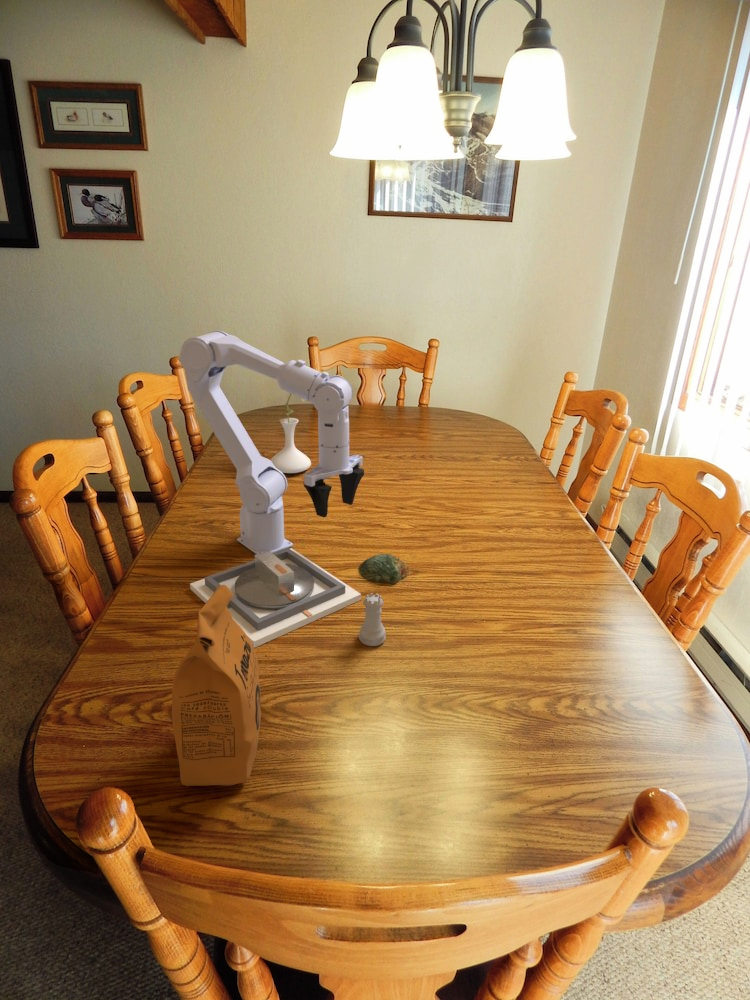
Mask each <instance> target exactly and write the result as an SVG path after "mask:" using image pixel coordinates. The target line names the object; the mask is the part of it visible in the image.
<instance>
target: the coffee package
mask: <svg viewBox="0 0 750 1000" xmlns="http://www.w3.org/2000/svg"><path fill="white" fill-rule="evenodd" d="M232 597H233V593H232V592H231V591H230V590H229V588H228V587H227V586H226V585H219V586H218V588H217V589H216V591H215V592H214V594H213V595H212V596H211V597H210V599H209V600H208V601H207V602H206V603H205V604H204V605H203V607H202V608H201V609H200V610H199V611H198V614H197V615H198V617H197V631H196V633H197V634H196V638H195V643H194V644H193V646H192V647H191V648H190V649H189V650H188V652H187V654H186V655H185V656H184V658H183V659H182V660H181V661H180V662H179V665H178V667H177V669H176V672H175V674H174V677H173V679H172V688H171V691H172V692H171V716H172V718H171V719H172V731H173V735H174V741H175V749H176V753H177V758H178V765H179V778H180V783H181V785H183V786H186V787H192V786H199V787H201V786H202V787H204V786H205V787H206V786H234V785H236V784H237V785H238V784H243V783H244V784H245V783H247V782H248V780H249V779H250V777H251V774H252V770H253V767H254V762H255V759H256V754H257V749H258V742H259V735H260V727H261V718H262V711H261V686H260V675H259V674H260V672H259V670H260V669H259V660H258V657H257V652H256V651H255V648H254V647H253V644H252V642H251V641H250V639H249V638H248V636H247V635H246V633H245V632H244V631H243V629H242V628H241V627H240V626H239V625H238V624H237V623H236V622H235V621H234V620H233V619H232V616H231V614H230V612H229V610H228V608H227V604H228V603H229V602H230V601H231V599H232Z"/></svg>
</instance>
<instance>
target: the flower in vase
mask: <svg viewBox="0 0 750 1000" xmlns="http://www.w3.org/2000/svg"><path fill="white" fill-rule="evenodd" d="M291 397H292V394H291V393H289V396H288V399H287V401H286V402H285V406H286V413H285V416H287V417H285V418H281V419H279V422H280V424H281V427H282V429H283V431H284V435H285V436H284V439H285V441H284V442H285V443H284V447H283V448H282V449H281V450H280V451H278V452H277V453H276V454H275V455H273V456H272V457H271V459H270V460H271V461H272V463H273V465H274V466H275V467H276V468H277V469H278V470H280V471H281V472H282V473H283V474H297V473H301V472H304V471H307V470H308V469H309V468H310V467H311V466H312V461H311V459H310V458H309V457H308V456H307V454H305V453H303V452H302V451H300V450H299V449H297V447H296V445H295V440H294V439H295V429H296V426H297V424H298V423H299V421H300V420H299V419H298V418H295V417H290V416H289V415H291V414H292V413H295V410H293V409H290V407H289V403H290V399H291ZM298 399H300V400H301V402H306V401H307V400H304V399H302V398H300V397H298Z"/></svg>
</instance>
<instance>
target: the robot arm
mask: <svg viewBox="0 0 750 1000" xmlns="http://www.w3.org/2000/svg"><path fill="white" fill-rule="evenodd" d="M179 352H180V353H179V357H178V361H179V363H180V365H181V367H182V368H183V371H184V374H185V375H184V376H185V379H186V381H185V382H186V385H187V390H188V392H189V394H190V396H191V398H192V399H193V401H194V402H195V404H196V405H197V407H198V408H199V411H200V412H201V414H202V415H203V418H204V419H205V420H206V421H207V423H208V425H209V427H210V429H211V430H212V432H213V434H214V435H215V437H216V438H217V440H218V442H219V443H220V444H221V446H222V448H223V450H224V452H225V453H226V454H227V456H228V458H229V460H230V462H231V463H232V464H233V466H234V467H235V469H236V476H235V486H236V487H237V489H238V490H239V496H240V501H241V503H242V505H241V507H240V509H239V526H240V537H238V538H236V540H237V542H239V543H240V544H242V546H244V547H246V548H247V549H248V550H250V551H251V552H252V553H253V554H254V555H257V554H260V553H263V552H267V551H270V552H272V553H276V552H279V551H282V550H284V549H287V548H289V549H290V548H292V547H293V546H294V543H292V542H291V541H290V540H288V539H286V538H285V523H284V522H285V518H284V501H283V495H284V494H285V493H286V492H287V488H288V480H287V477H286V475H285V473H282V472H281V471H280V470H278V469H277V468H276V467H275V466H274V465H273V463H272V461H271V459H268V458H266V457H264V456H263V455H261V453H260V452H259V450H258V449H257V447H256V445H255V444H254V442H253V440H252V439H251V437H250V435H249V434H248V431H246V429H245V426H243V423H242V422H241V420H240V418H239V417H238V415H237V414H236V412H235V410H234V408H233V407H232V405H231V404H230V402H229V400H228V399H227V397H226V395H225V393H224V392H223V390H222V388H221V386H220V385H221V381H222V377H223V374H224V371H225V370H226V369H227V367H229V366H234V365H238V366H241V367H244V368H246V369H248V370H252V371H253V372H257V374H258V373H259V374H261V375H263V376H265V377H266V376H267V377H269V378H272V379H273V380H274V379H275V380H276V382H277V383H278V386H279V388H280V389H281V390H283V391H285V392H287V393H289V394H290V393H291V395H293V396H296V397H298V398H299V397H300V398H302V399H304V400H306V401H307V402H309V403H312V404H313V406H314V408H315V410H316V411H317V414H318V415H317V416H318V417H317V418H318V419H317V425H318V427H317V430H318V435H317V436H318V464H317V465H316V466H314V467H313V468H312V469H311V470H309V471H308V472H307V473H304V474H303V480H302V481H303V482H302V483H303V487H304V488H305V490H306V492H307V493H308V494H309V496H310V499H311V502H312V504H313V507H314V510H315V513H316V516H319V517H321V518H327V515H328V511H329V510H328V509H329V507H328V505H329V497H330V493H331V490H332V488H333V486H331V485H329V484H326V482H325V480H327V479H329V478H332V477H334V476H335V477H336V476H338V478H339V481H340V489H341V499H342V503H343V504H345V505H346V504H347V505H350V506H351V505H353V504H354V500H355V497H356V492H357V490H358V487H359V484H360V482H361V480H362V479H363V477H364V475H365V470H364V469H363V468H359V467H362V466H363V465H364V464H363V461H364V460H363V456H362V455H358V454H353V455H350V418H349V417H350V416H349V412H350V411H349V410H350V409H349V405H348V404H349V403H350V402H351V400H352V397H353V394H354V393H353V392H354V391H353V387H352V384H351V383H350V382H349V381H348V380H347V379H346V378H344V377H343V376H341V375H337V374H336V375H331V376H330V374H329V373H328V372H327V371H322V372H321V371H319V370H317V369H314V368H312V367H310V366H307V365H306V361H305V360H302V359H298V360H294V359H291V360H289V361H286V362H283V361H281V360H279V359H277V358H275V357H274V356H272V355H270V354H267V353H266V352H263V351H262V350H261V349H258V348H256V347H254V346H252V345H251V344H248V343H247V342H245V341H243V340H241V339H240V338H239V337H237V336H236V335H233V334H228V333H226V332H225V331H223V330H213V331H211V332H208V333H206V334H203V335H202V334H201V335H199V336H193V337H192V336H191V337H189V338H187V339H186V340H185V341H184V342H183V344H182V345H181V349H180V351H179ZM300 398H299V399H300Z"/></svg>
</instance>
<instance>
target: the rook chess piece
mask: <svg viewBox="0 0 750 1000" xmlns="http://www.w3.org/2000/svg"><path fill="white" fill-rule="evenodd" d="M362 602H363V603H362V604H363V606H364V607H365V608H364V613H365V617H364V621H363V624H362V625H361V626H360V628H359V632H358V633H359V634H358V639H359V641H360V643H362V644H364V646H368V647H378V646H380V645H382V644H383V643H384V642H385V641H386V638H387V636H386V629H385V627H384V625H383V623H382V617H381V616H382V615H381V614H382V612H383V610H382V607H383V606H384V601H383V599H382V595H379V593H375V594H374V593H373V592H372V593H371V592H370V593H369V594H366V595H365V598H364V600H363V601H362Z"/></svg>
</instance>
